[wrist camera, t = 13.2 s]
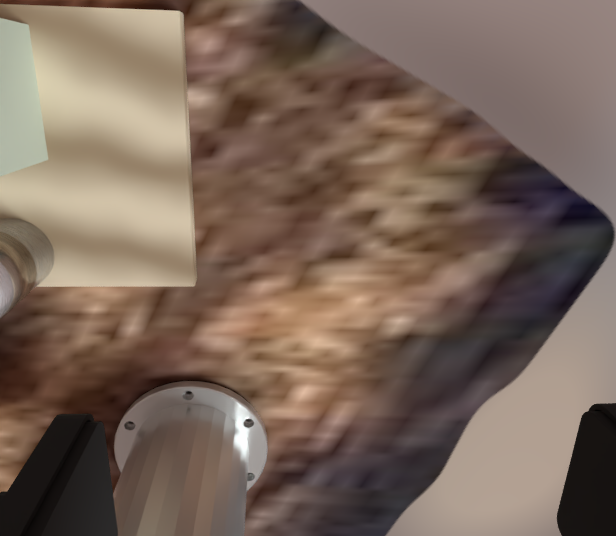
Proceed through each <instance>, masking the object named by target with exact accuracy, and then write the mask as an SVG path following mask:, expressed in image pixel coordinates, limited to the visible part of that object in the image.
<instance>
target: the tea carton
mask: <svg viewBox="0 0 616 536" xmlns="http://www.w3.org/2000/svg"><path fill="white" fill-rule="evenodd" d="M46 160H48V154H47V147H46V140H45V133H44V126H43V120H42V113H41V106H40V99H39V92H38V86H37V79H36V72H35V65H34V58H33V52H32V45H31V38H30V31H29V25H28V24H24V23H19V22H15V21H11V20H7V19H3V18H0V176H3V175H6V174H9V173H12V172H15V171H17V170H20V169H23V168H26V167H29V166H32V165H35V164H38V163H40V162H43V161H46Z"/></svg>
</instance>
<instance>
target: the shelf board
mask: <svg viewBox="0 0 616 536" xmlns="http://www.w3.org/2000/svg"><path fill="white" fill-rule="evenodd" d="M0 18H3V19H7V20H11V21H15V22H19V23H24V24H28V25H29V31H30V38H31V45H32V52H33V58H34V65H35V72H36V79H37V86H38V92H39V99H40V106H41V113H42V120H43V126H44V133H45V140H46V147H47V154H48V160H46V161H43V162H40V163H38V164H35V165H32V166H29V167H26V168H23V169H20V170H17V171H15V172H12V173H9V174H6V175H3V176H0V219H4V218H17V219H21V220H25V221H27V222H30V223H31V224H33V225H35V226H36V227H38V228H39V229H40V230H41V231H42V232H43V233H44V234H45V235H46V236H47V238H48V239H49V241H50V242H51V244H52V247H53V251H54V265H53V268H52V270H51V272H50V274H49V275H48V276H47V277H46V278H45V279H44V280H43V281H42V282H41V283H40V284H38V285H37V286H36V287H68V286H195V283H196V280H197V269H196V249H195V230H194V210H193V191H192V171H191V152H190V132H189V113H188V94H187V74H186V55H185V35H184V16H183V13H182V12H180V11H171V10H145V9H119V8H93V7H67V6H41V5H15V4H0Z"/></svg>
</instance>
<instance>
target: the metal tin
mask: <svg viewBox="0 0 616 536" xmlns="http://www.w3.org/2000/svg"><path fill="white" fill-rule="evenodd" d="M53 265H54V251H53V247H52V244H51V242H50V241H49V239H48V238H47V236H46V235H45V234H44V233H43V232H42V231H41V230H40V229H39V228H38V227H36V226H35V225H33V224H31V223H30V222H27V221H25V220H21V219H17V218H4V219H0V318H2V317H3V316H4V315H5V314H6V313H7V312H9V311H10V310H11V309H12V308H13V307H14V306H15V305H17V304H18V303H19V302H20V301H21V300H22V299H24V298H25V297H26V296H27V295H28V294H29V293H30V292H31V290H33V289H34V288H35V287H36V286H37V285H38V284H40V283H41V282H42V281H43V280H44V279H45V278H46V277H47V276H48V275H49V274H50V272H51V270H52V268H53Z"/></svg>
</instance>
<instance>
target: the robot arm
mask: <svg viewBox="0 0 616 536" xmlns="http://www.w3.org/2000/svg"><path fill="white" fill-rule="evenodd" d="M114 453H115V460H116V462H117V465H118V468H119V470H120V472H121V475H120V478H119V480H118V483H117V486H116V488H115V491H114V494H113V490H112V483H111V475H110V468H109V460H108V453H107V445H106V438H105V430H104V425H103V423H102V422H94V418H93V416H92V415H91V414H60V415H57V416H56V417H55V419H54V420H53V421H52V423H51V425H50V426H49V428H48V429H47V431H46V432H45V434H44V435H43V437H42V439H41V440H40V442H39V443H38V445H37V446H36V448H35V449H34V451H33V453H32V454H31V456H30V457H29V459H28V460H27V462H26V463H25V465H24V467H23V468H22V470H21V471H20V473H19V474H18V476H17V477H16V479H15V481H14V482H13V484H12V485H11V487H10V488H9V490H8V491H7V492H1V493H0V536H244V527H245V510H246V493H247V491H248V490H249V489H250V488H251V487H252V486H253V484H254V483H255V482H256V481H257V479H258V478H259V476H260V475H261V473H262V471H263V468H264V466H265V463H266V458H267V434H266V430H265V426H264V424H263V422H262V420H261V418H260V416H259V414H258V413H257V412H256V410H255V409H254V408H253V407H252V405H251V404H250V403H248V402H247V401H246V400H245V399H244V398H243V397H241V396H240V395H238V394H236V393H235V392H233V391H231V390H229V389H227V388H224V387H222V386H219V385H216V384H212V383H207V382H201V381H181V382H174V383H169V384H166V385H163V386H159V387H156V388H154V389H153V390H151V391H149V392H147V393H145V394H143V395H142V396H141V397H140V398H138V399H137V400H136V401H135V402H133V404H132V405H131V406H130V407H129V408H128V410H127V411H126V412H125V414H124V416H123V418H122V420H121V422H120V424H119V426H118V429H117V432H116V435H115V441H114ZM557 523H558V528H559V530H560V533H561V535H562V536H616V403H612V404H594V405H592V406H591V408H590V409H589V411H588V412H585V413H584V414H583V415H582V418H581V422H580V425H579V430H578V433H577V437H576V441H575V445H574V450H573V454H572V458H571V462H570V465H569V470H568V473H567V477H566V481H565V485H564V489H563V493H562V497H561V501H560V505H559V509H558V513H557Z"/></svg>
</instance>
